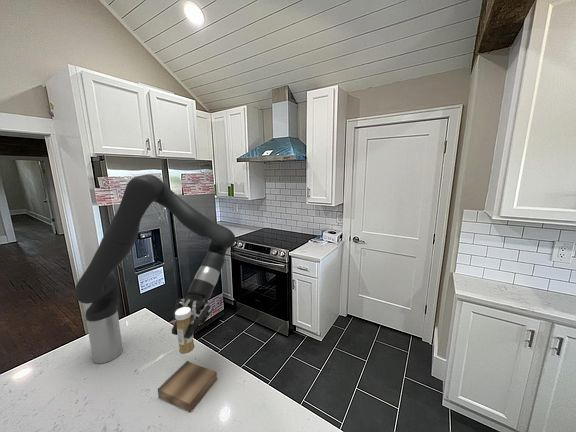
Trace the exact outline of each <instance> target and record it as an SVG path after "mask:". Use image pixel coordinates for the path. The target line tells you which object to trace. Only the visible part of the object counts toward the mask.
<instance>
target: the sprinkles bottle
mask: <svg viewBox="0 0 576 432" xmlns="http://www.w3.org/2000/svg"><path fill="white" fill-rule="evenodd" d="M174 319H175V322H176V323H177V341H178V347H179V350H178V351H179V353H180V354H181V355H182V354H183V355H187V354H190V353H191V352H193V351H194V349H195V346H196V345H195V341H194V334H193V335H192V336H191V337H190V338H189V339H187V338H184V334H185V332H186V330H187V328H188V325H189V324H190V322H191V309H190V308H189V307H182V308H180V309H178V310H176V312H175V317H174Z"/></svg>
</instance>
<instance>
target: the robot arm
mask: <svg viewBox="0 0 576 432" xmlns="http://www.w3.org/2000/svg"><path fill="white" fill-rule="evenodd" d="M123 192H124V193H123V196H122V199H121V200H120V204H119V206H118V209H117V210H116V213H115V214H114V216H113V218H112V220H111V222H110V224H109V226H108V227H107V229H106V231H105V233H104V235H103V237H102V239H101V241H100V243H99V246H98V247H97V249H96V251H95V253H94V256H93V257H92V259H91V261H90V263H89V265H88V267H87V268H86V270H85V271H84V273H83V274H82V275H81V276H80V279H79V280H78V282H77V283H76V285H75V288H74V295H75V298H76V300H77V301H78V302H79V303H82V304H86V305H87V304H90V305H89V307H88V308H87V309H86V311H85V320H86V326H87V332H88V339H89V344H90V349H91V350H90V351H91V356H92V361H93V363H95V364H100V365H101V364H105V363H108V362H111V361H113V360H115V359H116V358H118V357H119V356H120V355H121V354H122V352H123V351H124V347H123V341H122V340H123V339H122V334H121V325H120V319H119V313H118V305H119V290H118V289H119V287H118V281H117V278H116V276H115V275H114V274H113V271H114V270H115V269H116V268H117V267H118V266H119V264H121V263H122V261H124V260H125V259H126V257H127V256H128V255H129V253H130V252H131V251H132V249H133V248H134V245H135V243H136V242H137V239H138V237H139V233H140V225H141V221H142V218H143V216H144V215H145V213H146V212H147V210H148V208H149V207H150V205H152V203H153V202H155V203H157V204H159V205H161V206H162V207H164V208H166V210H168V211H169V212H170V213H171V214H173V215H174V216H175V218H176V219H177V220H178V221H179V223H181V224H182V225H183V226H184V227H185V228H187V229H188V230H189V231H191V232H192V233H194V234H196V235H197V236H199V237H201V238H208V239H210V240H211V242H210V243H209V246H208V250H207V253H206V255H205V257H204V259H203V260H202V263H201V265H200V267H199V268H198V270H197V271H196V273H195V276H194V278H193V280H192V282H191V284H190V285H189V288H188V290H187V291H188V292H187V295H186V296H185V297H184V298H177V299H176V301H175V305H174V309H173V313H172V318H175V312H176V310H178V309H180V308H182V307H189V308H190V309H191V322H190V324H189V325H188V328H187V330H186V332H185V334H184V338H187V339H189V338H190V337H191V336H192V335H193V336H194V332H195V330H196V327H197V326H202V325H204V323H205V322H206V321H207V319H208V318H209V317H210V314H211V313H212V312H213V310H214V307H213V306H212V305H210V304H209V303H208V302H209V299H211V297H212V294H213V291H214V290H215V287H216V284H217V283H218V280H219V278H220V277H219V276H220V274H221V271H222V268H224V267H223V266H224V264H225V255H226V253H227V250H228V249H230V248H232V247H233V245H234V244H235V243H236V235H235V233H234V232H233V231H232V230H231V229H229V228H228V227H226V226H224V225H221V224H219V223H217V222H214V221H212V220H211V219H210V218H208V217H207V216H205V215H203V214H202V213H201V212H199V211H198V210H197V209H195V208H194V207H192V206H191V205H190V204H189V203H187V202H186V201H184V200H183V199H182V198H181V197H180V196H179V195H177V194H176V193H175V192H174V191H173V190H172V189H171V188H170V187H169V186H168V185H167V184H166V183H165V182H163V181H162V179H160V178H159V177H157V176H156V175H154V174H142V175H137V176H135V177H133V178H131V179H130V180H129V181H128V182H127V184H126V187H125V188H124V191H123ZM171 335H175V336H178V334H177V323H176V321H175V322H174V324H173V326H172V329H171Z"/></svg>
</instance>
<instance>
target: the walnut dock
mask: <svg viewBox="0 0 576 432" xmlns="http://www.w3.org/2000/svg"><path fill="white" fill-rule="evenodd" d="M217 374H218V373H217V371H215V370H213V369H210V368H207V367H204V366H202V365H199V364H196V363H194V362H192V361H191V362H190V361H189V360H186V361H185V362H184V363H183V364H182V365H181V366H180V367H178V368H177V370H176V371H174V373H172V375H171V376H169V377H168V378H167V380H165V381H164V382H163V383H162V384H161V385H160V386H159V387H158V388H157V394H158V399H161V400H162V401H165V402H166V403H169V404H171V405H173V406H176V407H178V408H180V409H182V410H184V411H186V412H188V413H192V411H193V410H194V409H195V408H196V406H197V405H198V404H199V403H200V401H201V400H202V399H203V398H204V396H205V395H206V394H207V393H208V392H209V390H210V389H211V388H212V386H213V385H214V384H215V383H216V381H218V375H217Z"/></svg>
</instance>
